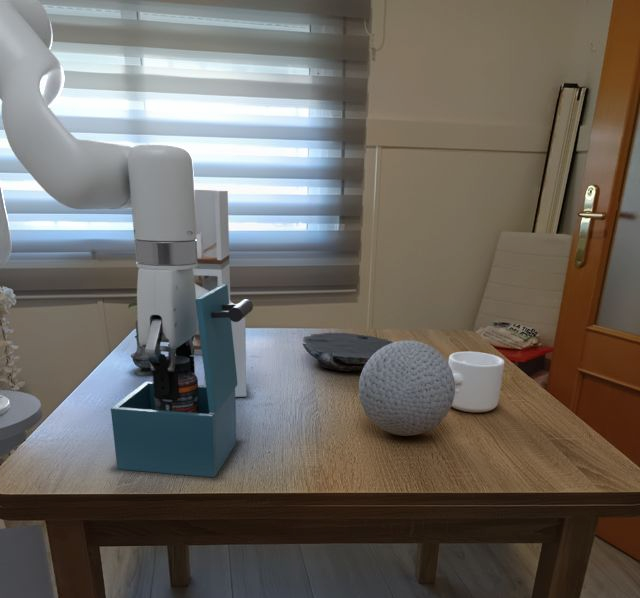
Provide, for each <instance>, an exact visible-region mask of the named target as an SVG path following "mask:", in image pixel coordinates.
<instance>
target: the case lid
mask: <svg viewBox="0 0 640 598" xmlns="http://www.w3.org/2000/svg"><path fill="white" fill-rule="evenodd" d="M195 302H196V310H197V318H198V326H199V334H200V342H201V350H202V354H201V357H202V364H203V365H202V366H203V375H204V374H205V379H204V383H205V382H206V390H207V398H208V406H209V413H216V411H217V410H218V409H219V408H220V406H221V405H222V404H223V403H224V401H225V400H226V399H227V398H228V396H229V395H230V394H231V393H232V391H233V390H234V389H235V388H236V386H237V385H238V383H237V374H236V364H235V354H234V345H233V335H232V325H231V321H233V322H238V321H240V320H241V319H243V318H244V317H245V318H246V317H247V315H249V314H250V313H251V312H252V311H253V310H254V309H253V308H254V304H253V302H252V301H251V300H250V299H246V298H244V299H242V300H240V301H239V302H238V303H233V304H229V297H228V287H227V285H220V286H219V287H217V288H215V289H213V290H211V291H210V292H208V293H206V294H204V295H202V296H200V297H199V298H197V299H195Z"/></svg>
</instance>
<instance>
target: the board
mask: <svg viewBox="0 0 640 598" xmlns="http://www.w3.org/2000/svg"><path fill="white" fill-rule="evenodd" d="M302 341H303V343H302V346H303V348H304V349H305V351H306V352H307V353H308V354H309V355H310V356H311V357H313V358H314V359H315V360H317V361H318V365H319V366H320V367H322V368H325V369H327V370H332V371H338V372H351V371H353V372H354V371H362V370H363V368H364V366H365V364H366V363H367V361H368V360H369V359H370V357H371V356H372V355H373V354H374V353H375V352H377V351H378V350H379V349H381V348H382V347H384V346H386V345H388V344H391V343H394V342H395V341H394V342H393V341H392V340H389V339H385V338H381V337H377V336H372V335H365V334H358V333H350V332H323V333H312V334H311V335H310V336H309V335H307V336H304V337H303V338H302Z"/></svg>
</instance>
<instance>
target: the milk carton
mask: <svg viewBox="0 0 640 598" xmlns="http://www.w3.org/2000/svg"><path fill="white" fill-rule="evenodd" d="M229 304H234V303H233V302H232V301H231V299H230V300H229ZM231 325H232V335H233V345H234V354H235V364H236V374H237V383H238V385H237V386H236V388H235V398H240V397H241V398H242V397H243V398H244V397H247V345H246V341H247V340H246V339H247V338H246V316H245V317H244V318H243V319H241V320H240V321H238V322H233V321H231ZM203 375H204V376H203V377H204V380H205V374H204V373H203ZM204 386H206V382H205V381H204Z"/></svg>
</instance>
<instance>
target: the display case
mask: <svg viewBox="0 0 640 598" xmlns="http://www.w3.org/2000/svg"><path fill="white" fill-rule="evenodd" d="M228 192H229V191H228V190H217V189H214V190H212V189H194V193H195V215H196V238H197V239H196V240H197V260H198V267H196V268H194V269H193V273H194V281H195V291H196V299H197V298H199V297H200V296H202V295H204V294H206V293H208V292H210V291H211V290H213V289H215V288H217V287H219V286H220V285H227V287H228V297H229V300H230V301H231V276H230V275H231V272H230V270H231V269H230V230H229V193H228ZM193 339H194V340H193V346H194V355H202V350H201V342H200V334H199V326H198V318H197V332H196V334H195V335H194V338H193Z"/></svg>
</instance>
